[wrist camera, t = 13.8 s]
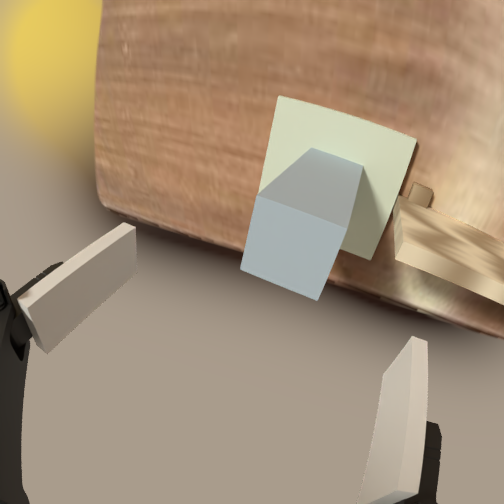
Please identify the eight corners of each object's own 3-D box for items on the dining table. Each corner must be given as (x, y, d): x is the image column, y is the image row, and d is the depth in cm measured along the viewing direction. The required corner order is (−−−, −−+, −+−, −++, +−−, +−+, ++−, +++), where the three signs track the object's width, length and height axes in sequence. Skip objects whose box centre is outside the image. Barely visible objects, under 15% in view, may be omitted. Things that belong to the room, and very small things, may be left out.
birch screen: (386, 223, 29) (385, 279, 21) (404, 177, 26) (413, 218, 18) (531, 288, 25) (558, 349, 17) (552, 252, 22) (589, 308, 14)
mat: (256, 214, 34) (253, 217, 34) (280, 95, 27) (278, 95, 27) (370, 256, 32) (370, 260, 31) (415, 138, 24) (416, 139, 24)
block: (311, 147, 28) (256, 194, 17) (363, 165, 27) (347, 228, 16) (297, 196, 31) (239, 271, 20) (345, 214, 30) (316, 302, 18)
